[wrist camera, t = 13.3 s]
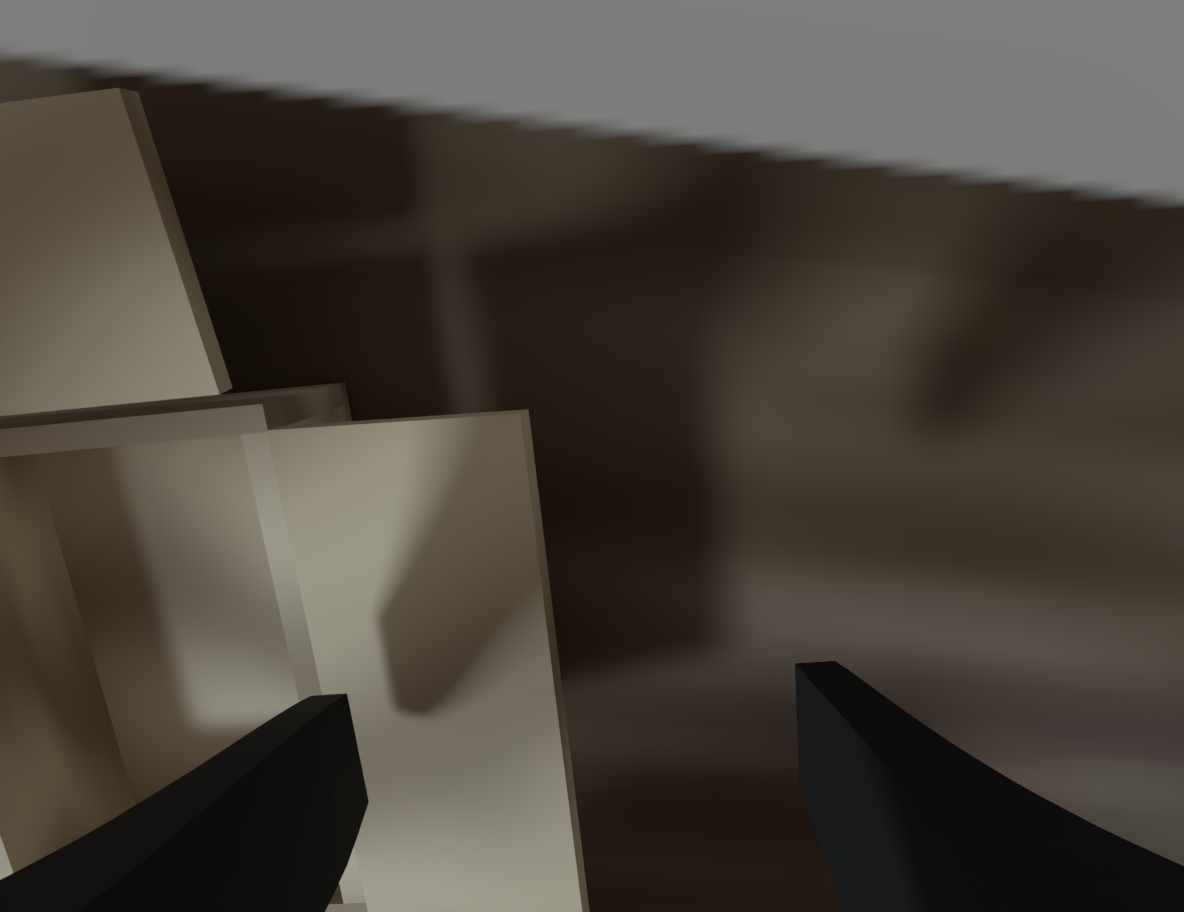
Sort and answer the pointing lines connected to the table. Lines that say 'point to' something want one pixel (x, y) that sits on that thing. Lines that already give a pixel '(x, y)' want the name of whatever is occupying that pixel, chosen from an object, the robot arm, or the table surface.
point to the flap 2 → (439, 654)
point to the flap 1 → (94, 263)
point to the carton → (143, 604)
